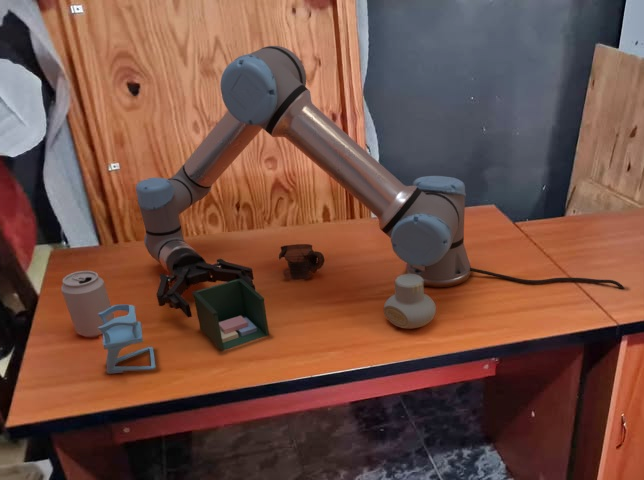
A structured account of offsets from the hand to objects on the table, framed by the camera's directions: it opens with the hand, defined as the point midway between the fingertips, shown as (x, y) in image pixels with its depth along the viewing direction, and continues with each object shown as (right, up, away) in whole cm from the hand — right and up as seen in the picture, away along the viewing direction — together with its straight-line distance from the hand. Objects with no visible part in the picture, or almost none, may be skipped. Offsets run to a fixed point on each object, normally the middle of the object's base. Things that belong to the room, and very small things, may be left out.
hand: (222, 301), depth 137 cm
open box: (+2, -7, +1) cm, 7 cm away
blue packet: (+4, -6, +1) cm, 7 cm away
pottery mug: (+11, +9, +24) cm, 28 cm away
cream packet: (+1, -7, -1) cm, 7 cm away
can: (-26, -6, +1) cm, 26 cm away
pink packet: (+2, -5, 0) cm, 6 cm away
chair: (-14, -13, -9) cm, 21 cm away
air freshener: (+37, -4, +7) cm, 38 cm away
